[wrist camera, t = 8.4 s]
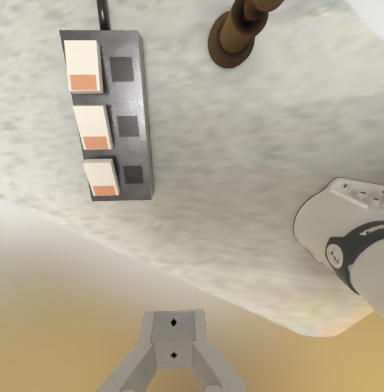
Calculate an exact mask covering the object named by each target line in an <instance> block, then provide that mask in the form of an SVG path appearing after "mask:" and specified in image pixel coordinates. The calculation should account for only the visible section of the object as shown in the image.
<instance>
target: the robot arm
mask: <svg viewBox="0 0 384 392" xmlns="http://www.w3.org/2000/svg"><path fill="white" fill-rule="evenodd" d="M344 184H345V186H344ZM343 186H344V187H343ZM294 233H295V237H296V239H297V241H298V242H299V243H300V244H301V245H302V246H303V247H305V248H306V249H308V250H309V251H310V252H311V253H312V255H313V256H314V258H315V259H316V260H317V261H319V262H323V263H324V264H325V265H326V266H328V267H329V268H330V269H331V270H332V271H333V272H335V273H336V274H337V276H338V277H339V278H340V279H341V280H342V281H343V282H344V284H345V285H346V286H347V287H349V288H350V289H351V290H352V291H353V292H355V293H356V294H359V295H361V296H362V297H363V298H364V300H365V301H366V302H367V303H368V304H369V305H370V306H371V307H372V308H373V309H374V310H375V311H376V312H377V313H378V314H379V315H380V316H381V317H382V318H383V319H384V185H379V184H373V183H368V182H362V181H357V180H351V179H345V178H336V179H334V180H333V181H332V182H331V183H330V184H329V185H328V186H327V187H326V188H325V189H324V190H323V191H322V192H320V193H318V194H317V195H315V196H313V197H312V198H311V199H309V200H308V201H307V202H306V203H305V204H304V205H303V206H302V208H301V209H300V211H299V212H298V214H297V216H296V219H295V223H294ZM172 368H193V370H194V372H195V374H196V376H197V377H198V379H199V381H200V383H201V385H202V386H203V388H204V390H205V392H246V389H245V385H244V382H243V381H242V380H241V379H240V377H239V376H238V374H237V373H236V372H235V371H234V369H233V368H232V367H231V366H230V364H229V363H228V362H227V360H226V359H225V358H224V357H223V355H222V354H221V353H220V352H219V350H218V349H217V348H216V346H215V345H214V344H213V343H212V342H211V340H207V331H206V323H205V314H204V310H203V309H198V310H179V311H155V312H145V313H144V315H143V320H142V325H141V332H140V336H139V342H138V344H135V345H134V346H133V347H132V348H131V349H130V351H129V352H128V353H127V354H126V356H125V357H124V358H123V359H122V360H121V362H120V363H119V364H118V365H117V366H116V368H115V369H114V370H113V371H112V373H111V374H110V375H109V376H108V377H107V379H106V380H105V381H104V382H103V384H102V385H101V386H100V387H99V388H98V390H97V391H96V392H145V391H146V389H147V387H148V385H149V383H150V382H151V380H152V378H153V377H154V375H155V373H156V370H160V369H172Z"/></svg>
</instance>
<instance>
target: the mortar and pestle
mask: <svg viewBox="0 0 384 392" xmlns="http://www.w3.org/2000/svg"><path fill="white" fill-rule="evenodd" d="M283 1H284V0H235V2H234V4H233V6H232V8H231V10H230V11H228V12H225V13H224V14H222V15H221V16H220V17H219V18H218V19H217V20H216V21H215V23H214V24H213V27H212V29H211V32H210V35H209V40H208V48H209V52H210V55H211V57H212V59H213V60H214V62H215V63H216V64H218V65H219V66H221V67H224V68H233V67H236V66H238V65H240V64H241V63H242V62H243V61H245V60H246V59H247V57H248V56H249V55H250V53H251V51H252V49H253V46H254V41H255V36H256V35H258V34H259V33H260V32H261V31H262V29H263V28H264V27H265V25H266V22H267V19H268V12H270V11H273V10H275V9H276V8H277V7H279V6H280V5H281V3H282V2H283Z"/></svg>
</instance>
